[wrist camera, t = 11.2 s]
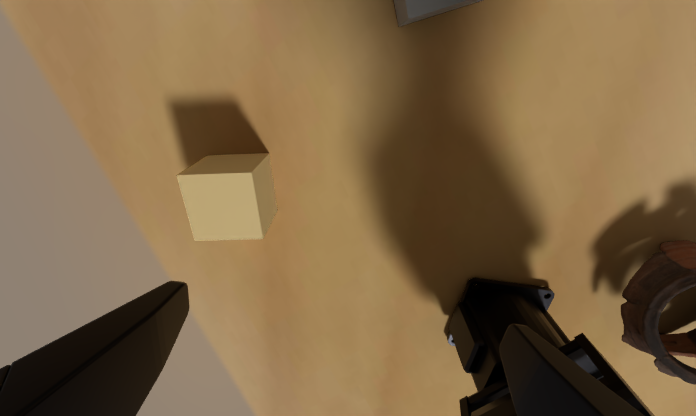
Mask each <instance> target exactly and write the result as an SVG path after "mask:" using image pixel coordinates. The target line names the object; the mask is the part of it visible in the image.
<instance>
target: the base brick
mask: <svg viewBox="0 0 696 416" xmlns="http://www.w3.org/2000/svg"><path fill="white" fill-rule="evenodd" d="M479 1H482V0H394V5H395V10H396V15H397V21H398V26H399V27H400V26H403V25H406V24H409V23H412V22H416V21H419V20H422V19H425V18H428V17H431V16H435V15H438V14H441V13H444V12H447V11H450V10H454V9H457V8H460V7H463V6H466V5H470V4H473V3H476V2H479Z"/></svg>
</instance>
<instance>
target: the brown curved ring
mask: <svg viewBox="0 0 696 416" xmlns="http://www.w3.org/2000/svg"><path fill="white" fill-rule="evenodd" d="M660 250H661V251H662V252H658V253H655V254H653V255H652V257H651V258H650V259H648V260H647V261H646V262H645V263H644V264H643V265H642V267H641V268H640V269H639V270H638V271H637V272H636V273H635V275H634V276H633V277H632V279H631V280H630V281H629V283H628V285H627V287H626V288H625V289H624V291H623V293H622V296H623V298H625V299H626V300H627V302H626V303H624V304H622V305H621V316H622V319H623V324H624V334H623V335H622V341H623V342H626V343H628V344H629V345H631V346H632V347H634V348H636V349H638V350H640V351H643V352H646V353H649V354H651V355H653V356H655V357H656V359H655V360H654V363H655V366H656V367H657V368H658V370H659V371H660V372H663V373H665V374H668V375H670V376H674V377H679V378H681V379H682V380H684V381H686V382H688V383H691V384H696V369H695V368H692V367H690V366H688V365H686V364H684V363H682V362H680V361H679V360H677V359H676V358H675V357H673V356H672V355H679V356H687V357H696V328H695V329H694V330H691V331H689V332H687V333H679V334H659V331H658V322H659V317H660V315H661V312H662V311H663V309H664V308H665V306H666V305H667V303H668V302H669V301H670V300H671V299H672V298H674V297H675V296H676V295H677V294H679V293H681V292H683V291H685V290H687V289H689V288H692V287H694V286H696V243H693V242H691V241H673V242H665V243H662V244H661V247H660Z"/></svg>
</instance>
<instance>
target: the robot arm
mask: <svg viewBox="0 0 696 416" xmlns="http://www.w3.org/2000/svg"><path fill="white" fill-rule="evenodd" d="M474 284H477V285H475V286H473V285H474ZM545 294H547V295H545ZM553 298H554V293H553V291H552V290H551V289H550V288H547V287H540V286H533V285H525V284H518V283H510V282H503V281H495V280H488V279H480V278H472V279H470V280H468V282H467V284H466V287H465V290H464V292H463V295H462V298H461V301H460V302H459V303H458V304H457V306H456V309H455V311H454V314H453V317H452V319H451V322H450V325H449V333H448V336H447V340H448V343H449V344H450V345H452V346H455V347H456V349H457V352H458V355H459V358H460V361H461V363H462V366H463V369H464V370H465V372H466V373H471V375H472V377H473V380H474V383H475V385H476V388H477V391H478V392H477V393H475V394H473V395H471V396H469V397H468V396H466V397H464V398H462V399H460V410H461V416H654V415H653V413H652V412H651V411H650V410H649V409H648V407H647V406H646V405H645V404H644V403H643V402H642V400H641V399H640V398H639V397H638V396H637V395H636V393H635V392H634V391H633V390H632V389H631V388H630V386H629V385H628V384H627V383H626V382H625V381H624V379H623V378H622V377H621V376H620V375H619V374H618V372H617V371H616V370H615V369H614V368H613V367H612V366H611V364H610V363H609V362H608V361H607V360H606V359H605V358H604V357H603V355H602V354H601V353H600V352H599V351H598V350H597V349H596V348H595V346H594V345H593V344H592V343H591V342H590V341H589V340H588V339H587V337H586V336H585V335H584V334H583V333H581V334H579V335H578V336H576V337H574V338H575V339H574V340H572V341H570V340H569V339H568V338H567V336H566V335H565V334H564V333H563V331H562V330H561V329H560V327H559V326H558V325H557V323H556V322H555V321H554V320H553V318H552V317H551V316H550V314H549V313H548V312H547V309H548V308H549V306H550V304H551V302H552V300H553ZM188 311H189V296H188V286H187V284H186V283H185V282H179V281H169V282H167V283H165V284H163V285H161V286H159V287H157V288H155V289H153V290H151V291H150V292H147V293H146V294H144V295H142V296H140V297H138V298H136V299H134V300H132V301H130V302H128V303H126V304H124V305H122V306H121V307H119V308H117V309H115V310H113V311H111V312H109V313H107V314H105V315H103V316H102V317H99V318H97V319H96V320H94V321H92V322H90V323H88V324H86V325H84V326H82V327H80V328H78V329H76V330H74V331H73V332H70V333H68V334H67V335H65V336H63V337H61V338H59V339H57V340H55V341H53V342H51V343H49V344H47V345H45V346H43V347H41V348H40V349H38V350H36V351H34V352H32V353H30V354H28V355H26V356H24V357H22V358H20V359H18V360H17V361H14V362H13V363H12V364H11V365H6V366H5V367H3V368H1V369H0V416H136V414H137V412H138V411H139V409H140V407H141V406H142V404H143V402H144V401H145V399H146V397H147V395H148V394H149V392H150V390H151V389H152V387H153V385H154V383H155V382H156V380H157V378H158V377H159V375H160V373H161V371H162V369H163V367H164V365H165V363H166V361H167V359H168V357H169V355H170V352H171V350H172V348H173V346H174V344H175V341H176V339H177V337H178V334H179V332H180V330H181V328H182V326H183V323H184V321H185V319H186V317H187V315H188Z"/></svg>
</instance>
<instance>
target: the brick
mask: <svg viewBox="0 0 696 416" xmlns="http://www.w3.org/2000/svg"><path fill="white" fill-rule="evenodd" d="M177 179H178V182H179V186H180V190H181V193H182V197H183V200H184V204H185V208H186V211H187V215H188V219H189V222H190V226H191V229H192V233H193V237H194V240H195V241H208V240H242V239H263V238H264V236H265V234H266V232H267V230H268V228H269V226H270V224H271V222H272V220H273V218H274V216H275V214H276V212H277V210H278V209H277V202H276V196H275V189H274V182H273V175H272V168H271V161H270V154H269V153H258V154H230V155H207V156H205V157H204V158H202V159H201V160H199V161H198V162H196V163H195V164H193V165H192V166H190V167H188V168H187V169H185V170H184V171H182V172H181V173H179V174H178V175H177Z"/></svg>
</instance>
